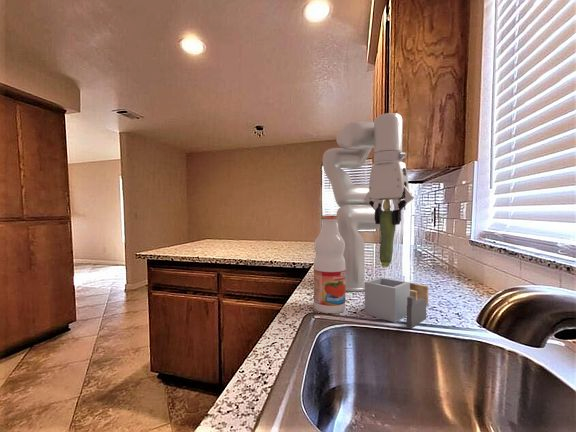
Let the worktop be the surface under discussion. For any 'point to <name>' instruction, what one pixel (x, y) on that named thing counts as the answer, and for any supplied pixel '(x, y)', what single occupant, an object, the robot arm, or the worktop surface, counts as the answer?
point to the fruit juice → (329, 268)
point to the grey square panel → (415, 311)
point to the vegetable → (386, 234)
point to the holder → (419, 291)
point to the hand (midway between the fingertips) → (387, 223)
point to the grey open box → (386, 298)
